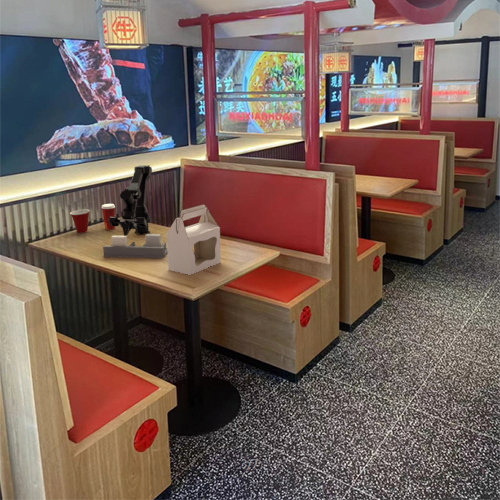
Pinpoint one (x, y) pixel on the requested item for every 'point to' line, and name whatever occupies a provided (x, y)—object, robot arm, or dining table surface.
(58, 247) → the dining table surface
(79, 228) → the plastic cup
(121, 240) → the cream block
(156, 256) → the grey compartment tray
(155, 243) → the white box
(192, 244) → the gable box
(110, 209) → the paper cup
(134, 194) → the robot arm
